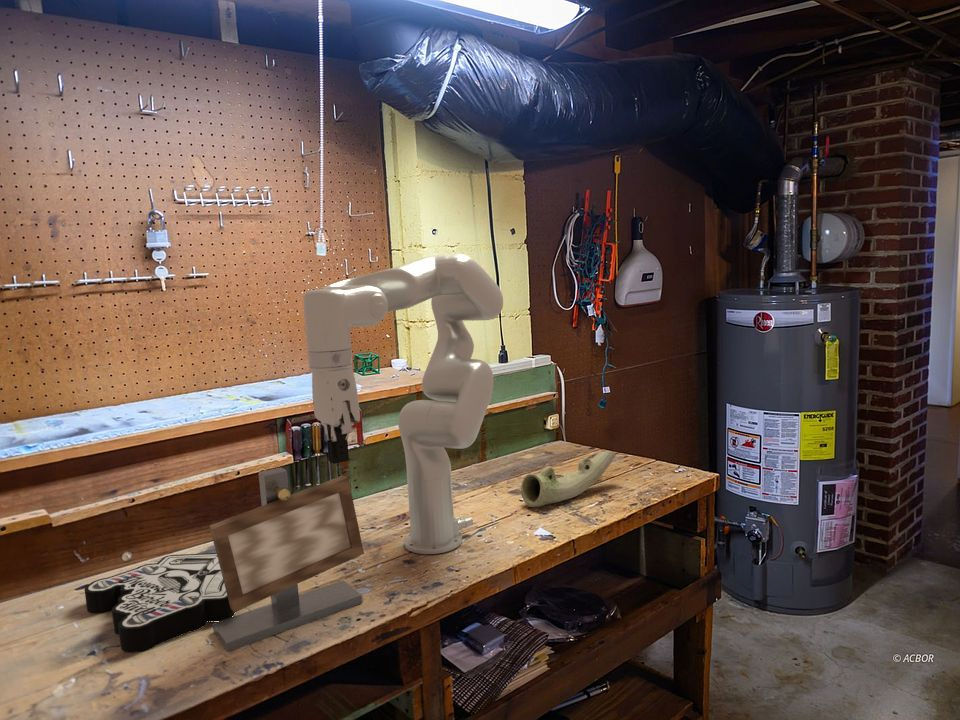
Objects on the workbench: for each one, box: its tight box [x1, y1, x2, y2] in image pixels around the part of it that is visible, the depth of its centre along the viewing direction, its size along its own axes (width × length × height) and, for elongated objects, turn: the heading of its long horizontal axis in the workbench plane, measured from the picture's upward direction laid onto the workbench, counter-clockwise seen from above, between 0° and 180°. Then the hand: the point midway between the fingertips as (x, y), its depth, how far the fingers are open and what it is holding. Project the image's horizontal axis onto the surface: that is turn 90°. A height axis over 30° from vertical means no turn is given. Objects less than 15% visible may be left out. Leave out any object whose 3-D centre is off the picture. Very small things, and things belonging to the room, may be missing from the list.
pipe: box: [520, 450, 617, 508], centre depth 174 cm, size 28×8×10 cm, turn 129°
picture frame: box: [209, 475, 365, 614], centre depth 118 cm, size 24×2×15 cm, turn 126°
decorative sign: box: [84, 552, 235, 654], centre depth 129 cm, size 28×4×30 cm
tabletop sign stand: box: [212, 467, 363, 652], centre depth 118 cm, size 24×8×26 cm, turn 126°
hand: (338, 461), depth 122 cm, fingers closed
